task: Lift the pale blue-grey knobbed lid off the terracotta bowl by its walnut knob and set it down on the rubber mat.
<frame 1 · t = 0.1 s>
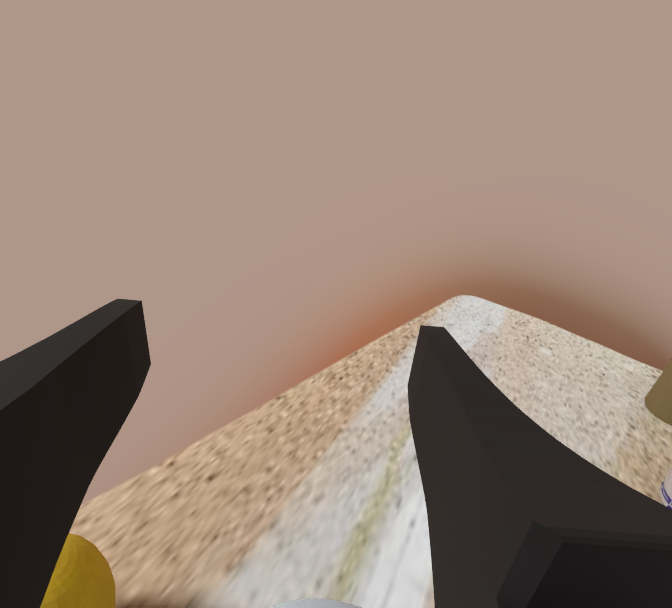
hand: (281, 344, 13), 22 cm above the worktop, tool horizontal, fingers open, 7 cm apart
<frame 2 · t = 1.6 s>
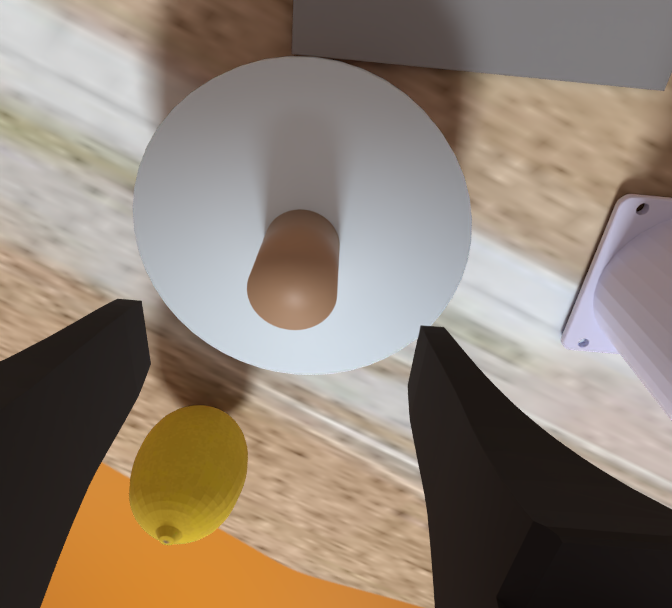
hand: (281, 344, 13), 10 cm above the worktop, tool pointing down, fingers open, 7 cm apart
lemon: (212, 410, 28), on the worktop
lid: (304, 234, 19), point 3 cm above the worktop, touching bowl
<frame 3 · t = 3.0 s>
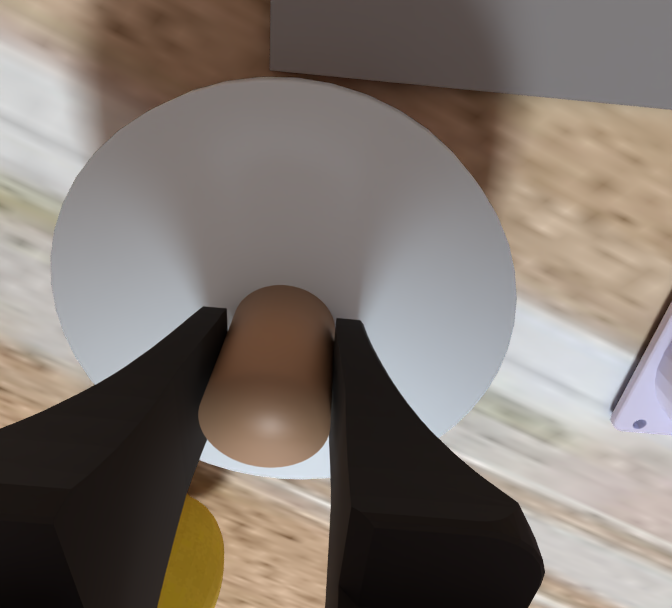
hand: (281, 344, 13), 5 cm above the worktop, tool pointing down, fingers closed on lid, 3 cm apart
lemon: (184, 490, 24), on the worktop
lid: (288, 310, 14), point 3 cm above the worktop, touching bowl, gripper
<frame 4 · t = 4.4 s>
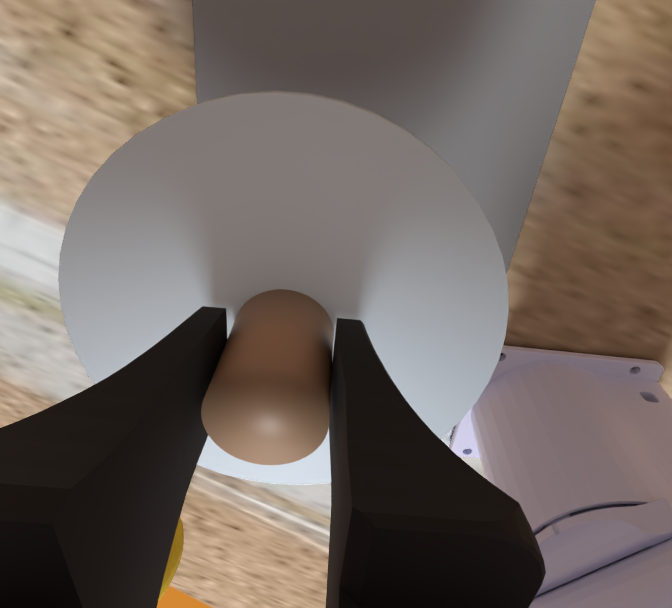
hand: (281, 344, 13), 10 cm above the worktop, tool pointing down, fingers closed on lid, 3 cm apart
lemon: (157, 492, 32), on the worktop
lid: (288, 315, 14), point 8 cm above the worktop, touching gripper
mat: (378, 95, 19), on the worktop
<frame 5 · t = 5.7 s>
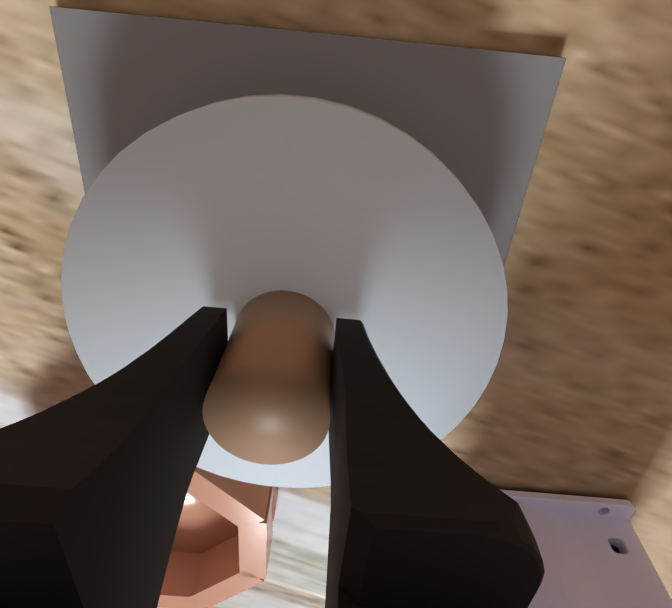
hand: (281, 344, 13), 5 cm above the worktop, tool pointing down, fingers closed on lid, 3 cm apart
bowl: (165, 485, 24), on the worktop
lid: (288, 317, 15), point 3 cm above the worktop, touching gripper
mat: (299, 258, 17), on the worktop
when the fingers open (4 cm above the worktop, at t = 6.3 s): lid drops 1 cm, resting on mat.
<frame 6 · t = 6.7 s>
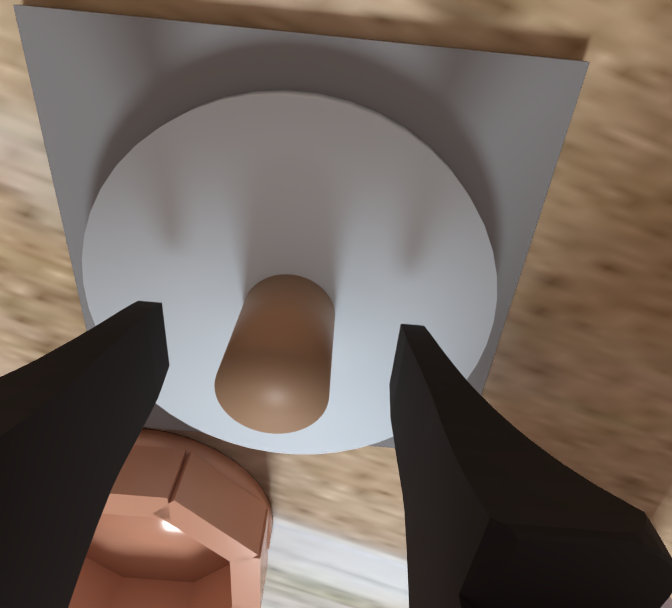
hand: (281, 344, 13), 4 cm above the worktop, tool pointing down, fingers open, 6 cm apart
bowl: (154, 512, 22), on the worktop
lid: (292, 297, 16), resting on mat
mat: (294, 278, 16), on the worktop
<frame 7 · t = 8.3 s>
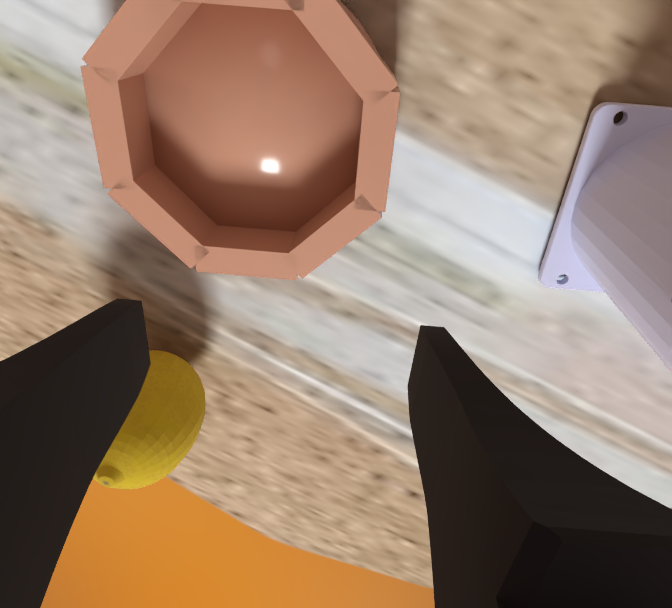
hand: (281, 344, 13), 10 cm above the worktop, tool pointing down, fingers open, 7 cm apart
lemon: (174, 360, 27), on the worktop
bowl: (258, 125, 20), on the worktop
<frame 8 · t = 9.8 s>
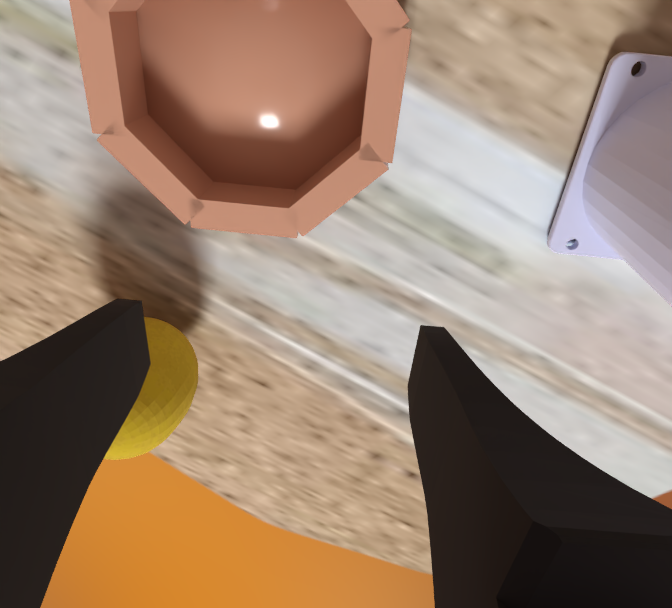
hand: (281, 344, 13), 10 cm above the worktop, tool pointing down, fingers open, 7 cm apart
lemon: (165, 330, 26), on the worktop
bowl: (258, 73, 19), on the worktop
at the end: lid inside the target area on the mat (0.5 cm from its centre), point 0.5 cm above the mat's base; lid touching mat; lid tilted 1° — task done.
